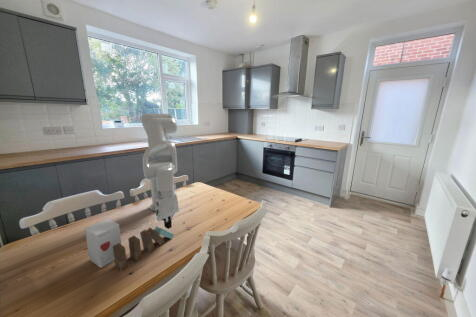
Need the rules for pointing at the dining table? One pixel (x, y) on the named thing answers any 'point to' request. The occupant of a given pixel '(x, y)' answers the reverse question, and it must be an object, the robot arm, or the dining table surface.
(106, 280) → the dining table surface
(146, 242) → the domino
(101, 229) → the supplement box
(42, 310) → the dining table surface
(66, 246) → the dining table surface
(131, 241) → the domino
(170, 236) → the domino
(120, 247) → the domino
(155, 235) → the domino
